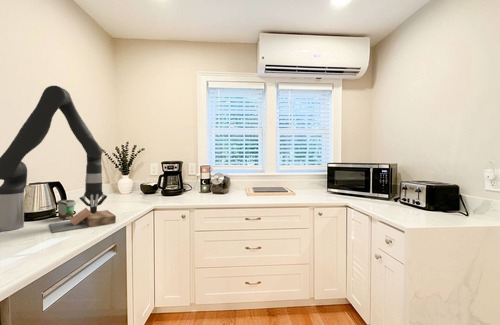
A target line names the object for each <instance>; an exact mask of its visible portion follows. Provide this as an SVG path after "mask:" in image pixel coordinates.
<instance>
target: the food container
mask: <svg viewBox="0 0 500 325" xmlns="http://www.w3.org/2000/svg"><path fill="white" fill-rule="evenodd" d="M76 205H77V203H76V201H75V200H74V199H62V200H61V199H60V200H57V210H58V211H57V215H58V216H57V217H58V219H60V220H63V221H65V220H66V221H70V220H69V219H71V218H72V217H73V216H74V212H75V206H76Z"/></svg>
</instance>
